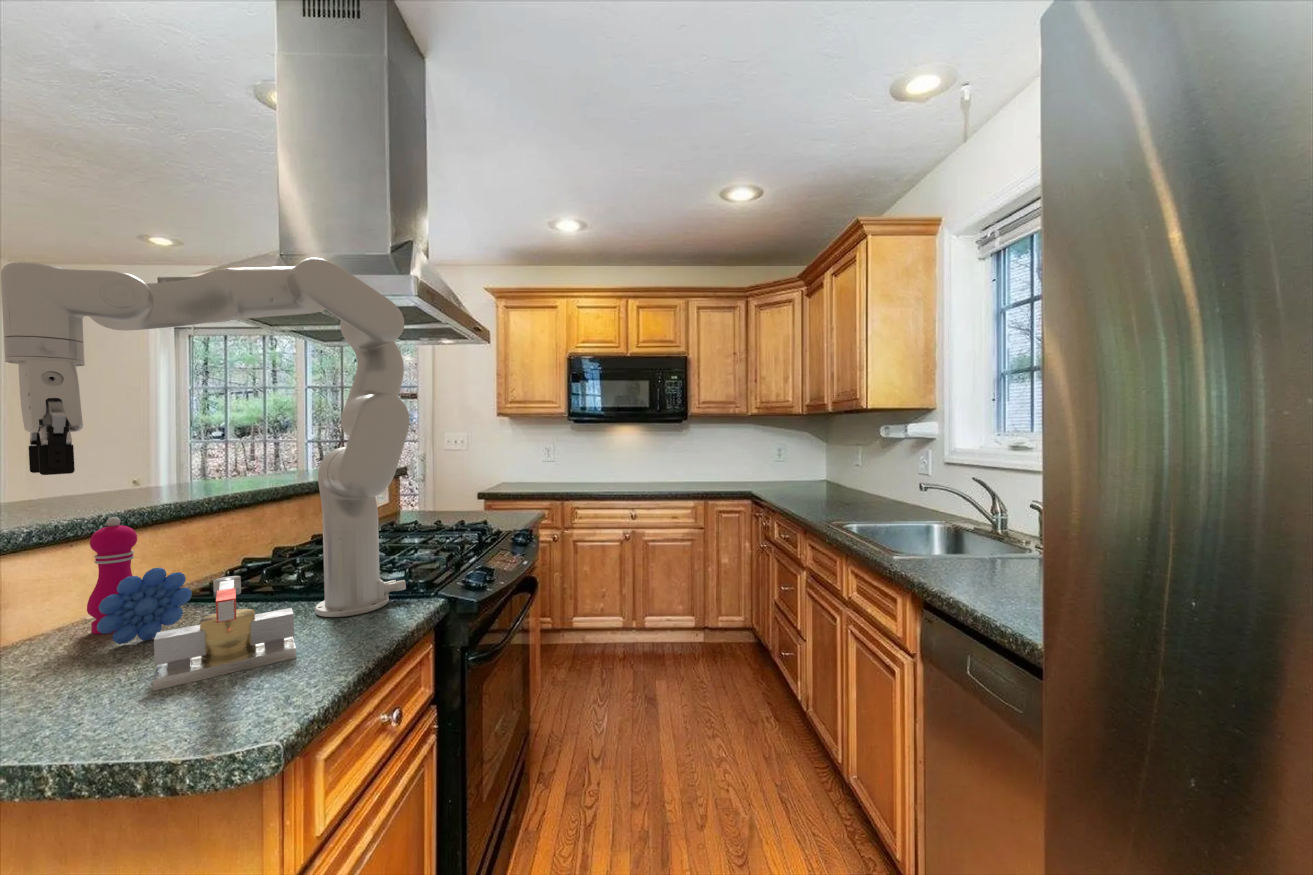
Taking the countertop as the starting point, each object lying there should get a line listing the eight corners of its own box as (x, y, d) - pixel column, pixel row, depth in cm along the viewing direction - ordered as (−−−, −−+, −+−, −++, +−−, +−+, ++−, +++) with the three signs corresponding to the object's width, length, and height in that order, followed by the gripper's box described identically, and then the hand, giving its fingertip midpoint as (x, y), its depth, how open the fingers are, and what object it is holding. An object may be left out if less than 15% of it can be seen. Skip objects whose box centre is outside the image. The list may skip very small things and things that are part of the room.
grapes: (190, 624, 97) (188, 558, 97) (194, 633, 92) (192, 564, 92) (97, 643, 89) (95, 571, 89) (97, 655, 84) (95, 579, 84)
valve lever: (213, 595, 80) (213, 577, 80) (240, 591, 82) (240, 573, 82) (210, 624, 68) (209, 602, 68) (242, 618, 70) (241, 597, 70)
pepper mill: (153, 618, 101) (150, 512, 100) (129, 632, 94) (126, 518, 94) (104, 623, 98) (101, 515, 98) (76, 637, 92) (72, 521, 91)
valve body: (291, 640, 89) (289, 580, 89) (296, 657, 82) (294, 593, 82) (160, 668, 79) (158, 601, 79) (153, 690, 72) (150, 617, 72)
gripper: (96, 350, 74) (101, 472, 75) (73, 361, 84) (78, 469, 85) (11, 344, 68) (18, 477, 69) (-2, 357, 78) (4, 473, 79)
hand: (51, 473), depth 77 cm, fingers open, 9 cm apart
